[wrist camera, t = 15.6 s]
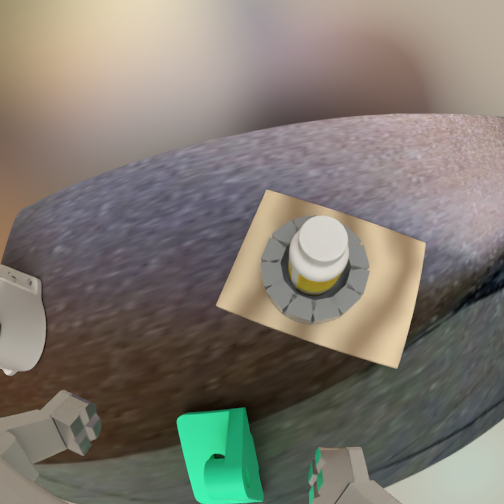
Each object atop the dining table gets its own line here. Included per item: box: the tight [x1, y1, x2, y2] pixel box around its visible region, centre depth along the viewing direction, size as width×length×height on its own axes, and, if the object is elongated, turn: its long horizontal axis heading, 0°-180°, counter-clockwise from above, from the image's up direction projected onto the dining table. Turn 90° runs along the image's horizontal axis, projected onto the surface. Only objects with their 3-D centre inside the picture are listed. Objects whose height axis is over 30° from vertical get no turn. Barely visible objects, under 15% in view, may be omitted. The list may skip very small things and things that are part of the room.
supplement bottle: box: [288, 215, 349, 297], centre depth 27 cm, size 5×5×10 cm
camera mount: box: [177, 407, 264, 504], centre depth 22 cm, size 12×8×10 cm, turn 10°
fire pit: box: [260, 215, 370, 325], centre depth 30 cm, size 11×11×4 cm
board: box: [216, 190, 426, 368], centre depth 33 cm, size 22×16×1 cm
